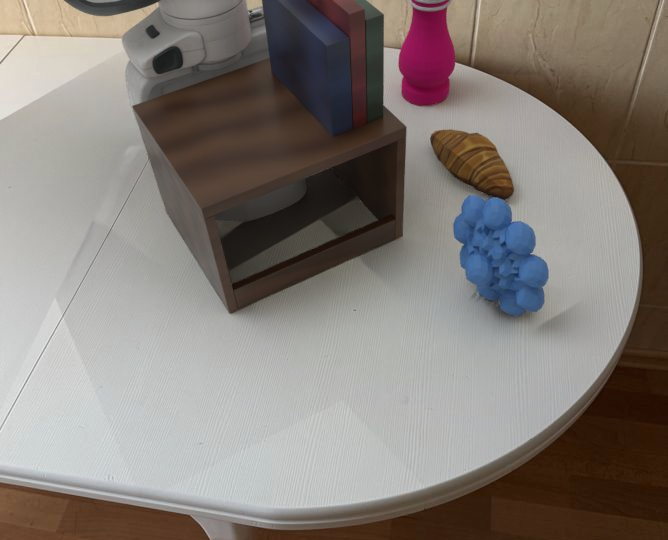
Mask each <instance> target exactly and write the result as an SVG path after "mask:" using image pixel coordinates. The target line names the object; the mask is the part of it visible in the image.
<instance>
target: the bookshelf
mask: <svg viewBox="0 0 668 540" xmlns="http://www.w3.org/2000/svg"><path fill="white" fill-rule="evenodd" d="M261 4H262V5H261V6H263V12H264V20H265V27H266V35H267V42H268V50H269V57H270V58H268V59H265V60H262V61H259V62H256V63H253V64H251V65H248V66H245V67H242V68H239V69H236V70H233V71H231V72H228V73H225V74H222V75H219V76H216V77H213V78H211V79H208V80H205V81H202V82H199V83H196V84H193V85H191V86H188V87H185V88H182V89H179V90H176V91H173V92H171V93H168V94H165V95H162V96H159V97H156V98H153V99H151V100H148V101H145V102H142V103H139V104H136V105H134V106H132V108H133V111H134V114H135V117H136V120H137V122H136V123H137V126H138V129H139V132H140V136H141V139H142V141H143V145H144V148H145V151H146V155H147V157H148V160H149V164H150V166H151V169H152V170H151V171H152V173H153V176H154V179H155V182H156V185H157V188H158V191H159V195H160V197H161V201H162V204H163V206H164V207H163V208H164V210H165V212H166V215H167V216H168V218H169V220H170V221H171V223H172V224H173V226H174V228H175V229H176V230H177V232H178V234H179V235H180V237H181V239H182V241H183V242H184V243H185V245H186V247H187V249H188V250H189V251H190V253H191V255H192V256H193V257H194V259H195V261H196V262H197V264H198V266H199V267H200V269H201V270H202V272H203V274H204V275H205V277H206V279H207V280H208V282H209V284H210V285H211V287H212V289H213V290H214V291H215V293H216V295H217V296H218V298H219V299H220V301H221V302H222V304H223V306H224V307H225V309H226V311H227V312H228V314H232V313H235V312H237V311H238V310H241V309H243V308H246V307H248V306H250V305H252V304H255V303H257V302H259V301H262V300H264V299H266V298H269V297H271V296H272V295H275V294H277V293H279V292H281V291H284V290H286V289H289V288H291V287H293V286H295V285H297V284H299V283H302V282H304V281H306V280H308V279H311V278H313V277H315V276H317V275H319V274H321V273H324V272H326V271H329V270H330V269H332V268H336V267H337V266H339V265H342V264H344V263H346V262H348V261H351V260H353V259H355V258H357V257H360V256H361V255H364V254H366V253H369V252H371V251H373V250H375V249H377V248H379V247H380V248H381V247H382V246H384V245H387V244H388V243H391V242H393V241H395V240H398V239H400V238H402V237H403V235H404V213H405V211H404V208H405V184H406V183H405V182H406V156H407V155H406V153H407V131H408V129H407V128H408V127H407V126H406V125H405V124H404V123H403V121H402V120H400V119H399V118H398V117H397V116H396V115H395V114H394V113H393V112H392V111H390V110H389V108H388V107H386V106H385V105H384V91H385V89H384V87H385V86H384V84H385V83H384V81H385V79H384V78H385V77H384V75H385V73H384V72H385V71H384V70H385V69H384V68H385V65H384V63H385V58H384V57H385V56H384V55H385V47H384V46H385V14H384V13H383V12H382V11H380V10H379V9H378V8H377V7H376V6H374V5H373V4H372V3H371V2H369V0H261ZM136 120H135V121H136ZM329 169H331V170H332V171H333V172H334V173H335V175H337V177H338V178H339V179H340V180H341V181H342V182H343V183H344V185H346V187H347V188H348V189H349V190H350V191H351V192H352V193H353V194H354V195H355V197H356V198H357V199H358V201H360V202H361V203H362V205H364V207H365V208H366V209H367V210H368V211H369V212H370V214H371V215H372V216H374V218H375V219H376V220H375V221H373V222H369V223H368V224H365V225H364V226H361V227H358V228H356V229H354V230H352V231H350V232H348V233H345V234H343V235H340V236H338V237H336V238H333V239H331V240H329V241H326V242H323V243H322V244H320V245H317V246H315V247H312V248H310V249H308V250H306V251H303V252H301V253H299V254H297V255H294V256H292V257H290V258H288V259H285V260H283V261H281V262H278V263H276V264H274V265H272V266H269V267H267V268H265V269H262V270H260V271H257V272H255V273H253V274H251V275H249V276H246V277H244V278H242V279H240V280H237V281H235V282H233V283H232V280H231V275H230V272H229V267H228V263H227V260H226V256H225V251H224V247H223V244H222V240H221V236H220V231H219V227H218V224H217V220H215V216H214V215H215V214H218V213H220V212H223V211H225V210H228V209H230V208H233V207H235V206H238V205H240V204H243V203H245V202H248V201H250V200H252V199H255V198H257V197H260V196H262V195H265V194H267V193H270V192H272V191H275V190H277V189H280V188H282V187H285V186H287V185H289V184H292V183H294V182H297V181H299V180H302V179H304V178H306V179H307V178H310V177H311V176H314V175H316V174H319V173H322V172H324V171H326V170H329Z"/></svg>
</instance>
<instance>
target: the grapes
mask: <svg viewBox="0 0 668 540" xmlns="http://www.w3.org/2000/svg"><path fill="white" fill-rule="evenodd" d="M452 225H453V227H452V228H453V230H452V231H453V232H452V233H453V237H454V239H455V240H456V241H458V242H459V243H460V244H462V246H461V248H460V251H459V263H460V268H462V269H464V273H465V278H466V280H467V281H468V282H469V283H471V284H473V285H475V286H476V288H477V293H478V295H479V296H481V297H482V298H483V299H485V300H488V301H490V302H497V301H498V305H499V309H500V310H501V311H502V312H503V313H505V314H507V315H508V316H509V315H510V316H512V317H519V316H521V315H523V314H524V313H525V312H528V313H529V312H530V313H538V311H540V310H541V309H542V308H543V306H544V304H545V291H544V286H546V285H547V282H548V280H549V278H550V277H549V275H550V273H549V272H550V271H549V270H550V269H549V266H548V263H547V262H546V260H545V259H543V258H542V257H541V256H539V255H537V254H534V250H535V248H536V244H537V240H536V239H537V236H536V234H535V230H534V229H533V228H532V227H531V225H529V224H528V223H526V222H523V221H522V220H516V221H515V220H513V211H512V208H511V205H509V203H507V202H506V201H505V200H502V199H500V198H497V197H489V198H488V199H485V198H484V197H482V196H479V195H477V194H469V195H467V196H466V197H465V198H464V199H463V201H462V204H461V213H459V214H458V215H457V216H456V217H455V219H454V221H453V223H452Z"/></svg>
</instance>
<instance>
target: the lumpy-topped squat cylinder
mask: <svg viewBox="0 0 668 540" xmlns="http://www.w3.org/2000/svg"><path fill="white" fill-rule="evenodd" d="M307 187H308V186H307V178H304V179H302V180H299V181H297V182H294V183H292V184H289V185H287V186H285V187H282V188H280V189H277V190H275V191H272V192H270V193H267V194H265V195H262V196H260V197H257V198H255V199H252V200H250V201H248V202H245V203H243V204H240V205H238V206H235V207H233V208H230V209H228V210H225V211H223V212H220V213H218V214H215V215H214V216H215V220H216V222H217V221H218V222H230V223H231V222H232V223H233V222H234V223H239V222H252V221H255V220H259V219H261V218H265V217H266V216H270V215H272V214H275V213H278V212H280V211H282V210H284V209H286V208H289V207H291V206H293V205H295V204H296V203H298V202H299V201H300V200H301V199H302V198H304V196H305V194H306V193H307V189H308V188H307Z"/></svg>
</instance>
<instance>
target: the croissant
mask: <svg viewBox="0 0 668 540" xmlns="http://www.w3.org/2000/svg"><path fill="white" fill-rule="evenodd" d="M429 141H430V145H431V147H432V150H433V153H434V154H435V156H436V158H437V159H438V161H439V162H440V163H441V164H442V165H443V166H444V168H445V169H446V170H447V171H448V172H449V173H450V174H451V175H452V176H453V177H454V178H455V179H456V180H458V181H460V182H462V183H463V184H465V185H468V186H470V187H472V188H474V189H475V190H476V191H477V192H479V193H482V194H484V195H487V196H489V197H490V198H493V197H497V198H500V199H502V200H504V201H505V200H509V199H510V198H511V197H512V196H513V194H514V192H515V186H514V183H513V182H514V181H513V179H512V176H511V173H510V172H509V169H508V167H507V165H506V163H505V162H504V159H503V158H502V157H501V156H500V154H499V151H498V148H497V146H496V145H495V144H494V143H493V142H492V141H491V140H490V139H489V138H488V137H486V136H485V135H483V134H481V133H478V132H470V133H469V132H466V131H463V130H458V129H440V130H434V132H432V133H431V135H430V137H429Z"/></svg>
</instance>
